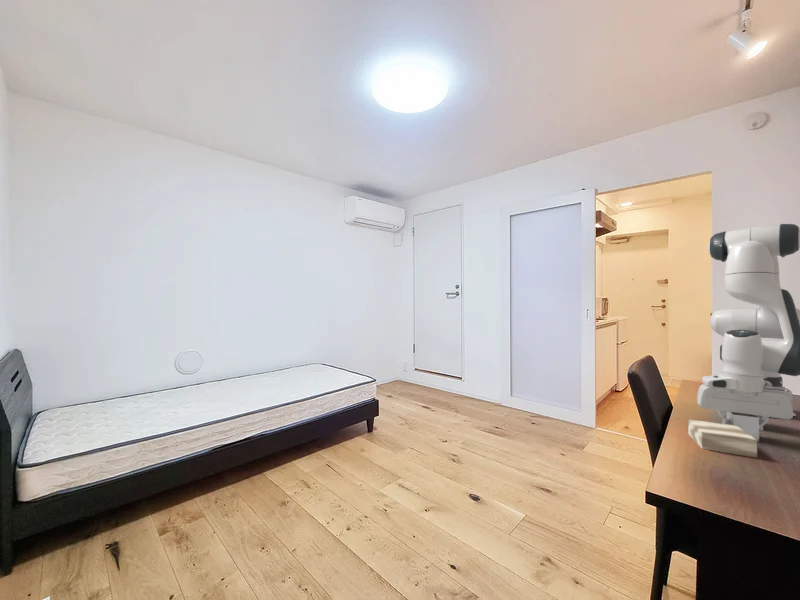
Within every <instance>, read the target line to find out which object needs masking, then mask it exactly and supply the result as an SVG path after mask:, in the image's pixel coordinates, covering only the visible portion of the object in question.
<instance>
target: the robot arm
mask: <svg viewBox="0 0 800 600" xmlns="http://www.w3.org/2000/svg"><path fill="white" fill-rule="evenodd" d="M799 250H800V227H799V226H798V225H796V224H795V223H794V224H793V223H780V224H776V225H774V224H773V225H771V224H770V225H769V224H768V225H759V226H758V225H757V226H752V227H747V228H740V229H734V230H731V231H730V230H729V231H720V232H718V233H714V234H713V235H712V236H711V237H710V239H709V242H708V244H707V251H708V252H709V253H708V254H709V255H710V257H711V258H712V259H714V260H716V261H721V262H723V263H725V266H724V288H725V292H727V294H729V296H731V297H732V298H734V299H737V300H739V301H742V302H744V303H748V304H752V305H756V306H759V307H758V308H740V307H739V308H725V309H718V310H716V311H714V312H713V313H712V314H711V316H710V318H709V324H710V327H711V329H712V330H713V331H714V332H715V333H717V334H718V335H720V336H721V337H723V339H722V344H720V347H719V359H720V360H721V362H723V364H722V365H723V366H722V368H721V373H720V374H714V375H713V374H712V375H705V376H702V378H701V381H702V383H703V384H701V385H700V386H699V388H698V391H697V397H696V401H697V402H696V403H697V404H698V406H699V407H700V408H702V409H705V410H712V411H717V414H718V415H719V417H721V419H722V421H721V422H722V423H721V424H728V425H731V424H730V423H731V421H730V420H729V419H726V418H725V416H724V415H726V412H734V413H742V414H749V415H757V416H759V418H760V421H759V432H760V431H761V432H763V431H764V426H765V425H766V424H767V423H768V422H769V420H770V418H773V419H780V420H791V419H793V418H794V417H793V416H795V417H796V416H797V415H796V413H795V412H794V410H793V409H794V408H793V405H792V401H793V398H794V397H793V391H791V390H790V389H788V388H786V387H785V386H783V383H784V381H783V376H781V375H786V376H792V377H798V376H800V309H799V308H797V307H796V305H795V302H794V299H793V296H792V294H791V293H790V292H789V291H788V290H786V289H784V288H782V287H781V282H780V279H781V278H780V265H779V259H778V256H780V257H781V259H783V258H785V257H787V256H790V255H793V254H795V253H797V252H799ZM762 339H776V341H775V340H774V341H771V340H762ZM777 339H778V341H777ZM779 340H780V341H779Z"/></svg>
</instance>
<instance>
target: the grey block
mask: <svg viewBox="0 0 800 600" xmlns="http://www.w3.org/2000/svg"><path fill="white" fill-rule="evenodd" d="M727 419H729V420H730V421H731V423H730V424H731V425H735V426H738V427H739V428H741V429H742V430H744V431H745V432H746V433H748V434H749V435H751V436H752V437H753V438H755V439H756V440H757V442H760V431H759V418H758V417H757V416H755V415H749V414H742V413H734V412H727Z"/></svg>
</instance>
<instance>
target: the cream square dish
mask: <svg viewBox="0 0 800 600" xmlns="http://www.w3.org/2000/svg"><path fill="white" fill-rule="evenodd" d="M687 422H688V432H687V433H688V435H689V436H690V437H691V439H692V440H693V441H694V442H695V443H696V444H697V445H698V446H699V447H700V448H701V449H702V450H707V451H713V450H714V452H719V451H720V452H719V453H726V454H731V453H732V455H737V456H744V457H751V458H758V441H757V440H756V439H755V438H753V437H752V436H751V435H749V434H748V433H746V432H745V431H744V430H742V429H741V428H739V427H738V426H735V425H728V424H723V423H719V422H714V421H713V422H711V421H706V420H705V421H704V420H696V419H688V421H687Z"/></svg>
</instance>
